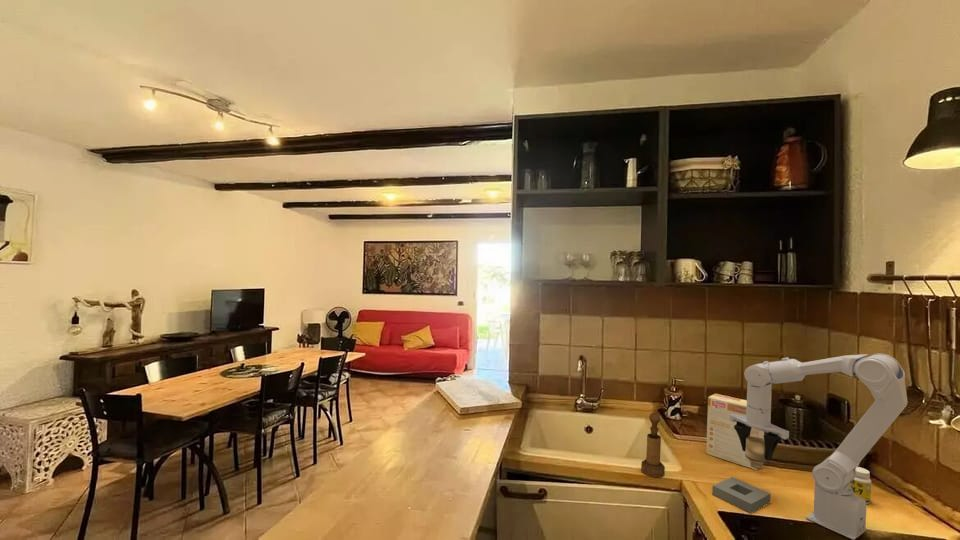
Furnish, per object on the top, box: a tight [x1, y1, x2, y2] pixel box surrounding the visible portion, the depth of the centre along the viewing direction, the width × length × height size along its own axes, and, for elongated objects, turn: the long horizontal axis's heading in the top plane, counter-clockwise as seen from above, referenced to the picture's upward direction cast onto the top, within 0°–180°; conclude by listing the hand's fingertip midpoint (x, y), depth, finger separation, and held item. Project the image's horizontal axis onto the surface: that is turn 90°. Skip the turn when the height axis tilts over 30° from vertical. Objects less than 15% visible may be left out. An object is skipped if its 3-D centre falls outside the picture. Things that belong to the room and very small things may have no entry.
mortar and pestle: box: [640, 412, 666, 478], centre depth 127 cm, size 7×6×18 cm
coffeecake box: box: [705, 393, 765, 471], centre depth 137 cm, size 15×7×20 cm, turn 42°
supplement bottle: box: [850, 466, 872, 505], centre depth 115 cm, size 5×5×8 cm
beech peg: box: [745, 436, 769, 470], centre depth 117 cm, size 5×5×8 cm
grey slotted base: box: [711, 476, 772, 514], centre depth 114 cm, size 10×10×2 cm
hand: (756, 454), depth 117 cm, fingers closed on beech peg, 5 cm apart
